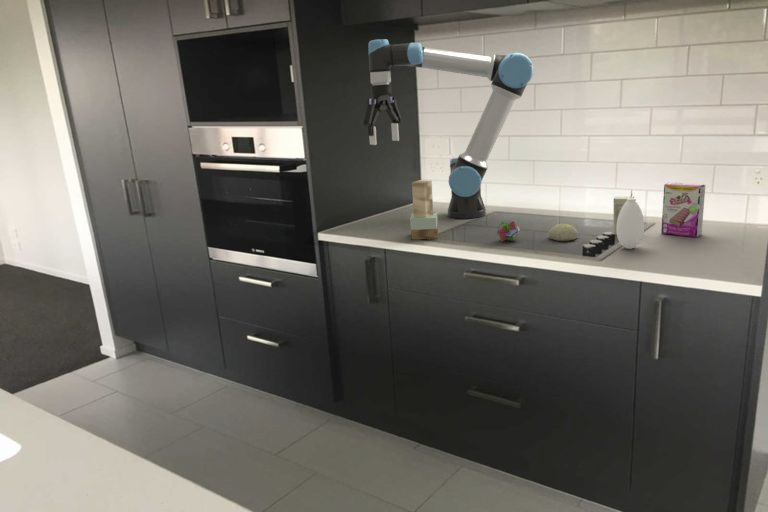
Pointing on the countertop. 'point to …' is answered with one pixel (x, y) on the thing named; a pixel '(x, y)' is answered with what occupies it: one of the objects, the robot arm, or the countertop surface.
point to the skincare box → (618, 209)
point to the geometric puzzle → (508, 231)
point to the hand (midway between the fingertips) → (384, 142)
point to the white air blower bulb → (630, 224)
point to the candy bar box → (683, 209)
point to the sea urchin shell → (563, 232)
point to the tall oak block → (422, 198)
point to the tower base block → (425, 233)
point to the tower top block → (423, 222)
